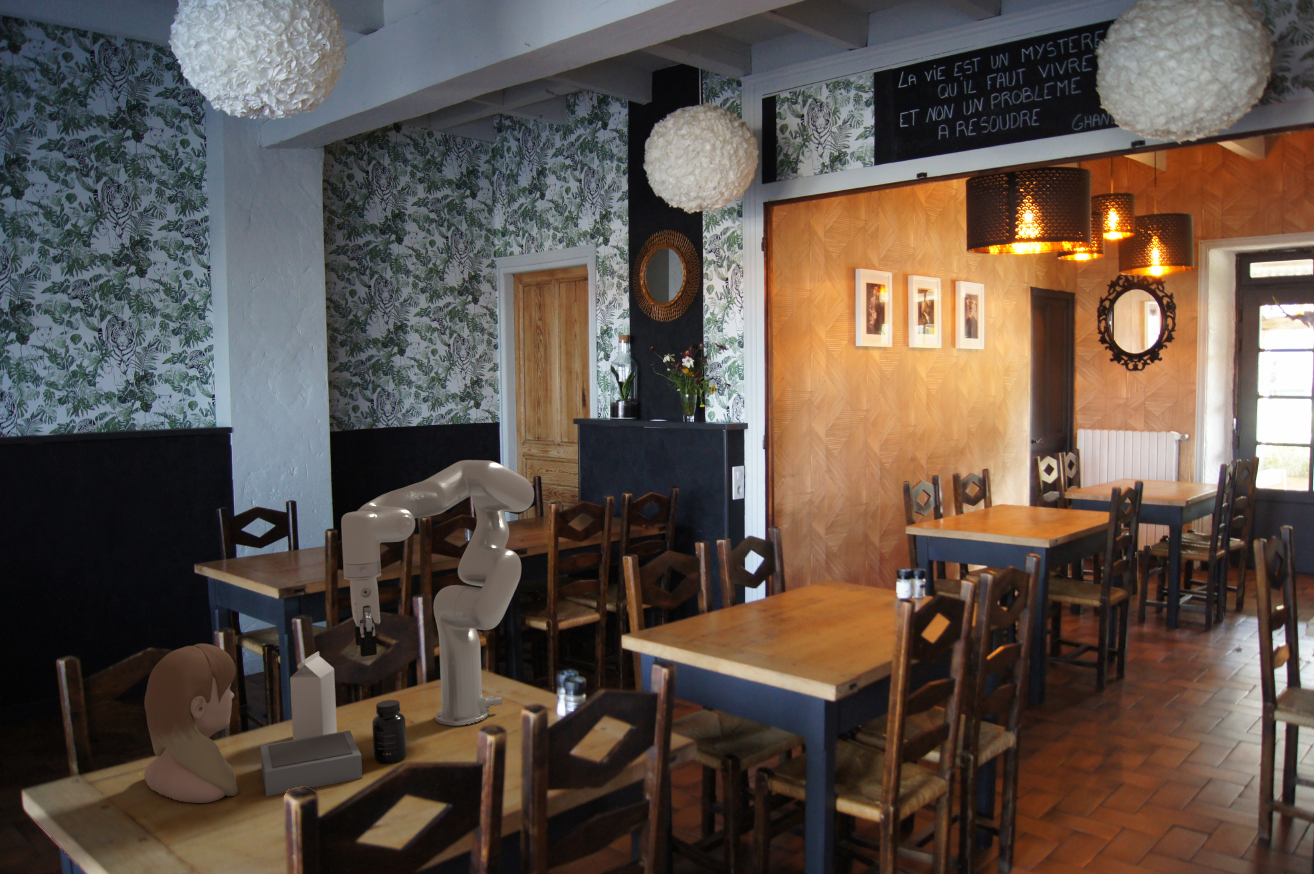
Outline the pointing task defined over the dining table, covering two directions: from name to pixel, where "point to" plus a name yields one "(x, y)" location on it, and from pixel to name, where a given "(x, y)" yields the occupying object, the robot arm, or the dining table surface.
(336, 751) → the display riser
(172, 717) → the head mannequin
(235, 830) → the dining table surface
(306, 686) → the milk carton
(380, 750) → the supplement bottle
